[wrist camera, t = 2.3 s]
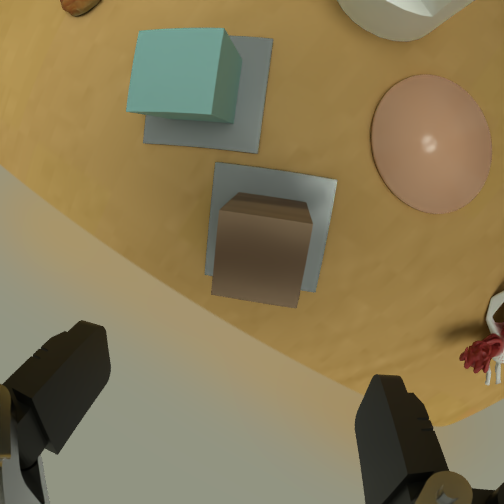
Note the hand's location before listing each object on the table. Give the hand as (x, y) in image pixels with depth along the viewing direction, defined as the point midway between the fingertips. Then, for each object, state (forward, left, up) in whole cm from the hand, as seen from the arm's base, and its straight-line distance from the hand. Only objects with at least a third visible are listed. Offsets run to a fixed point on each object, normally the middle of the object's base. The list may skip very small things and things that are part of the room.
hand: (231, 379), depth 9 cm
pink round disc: (-9, +12, -17) cm, 23 cm away
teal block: (-10, -6, -17) cm, 20 cm away
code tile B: (-10, -6, -17) cm, 21 cm away
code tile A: (0, 0, -17) cm, 17 cm away
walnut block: (0, 0, -17) cm, 17 cm away
